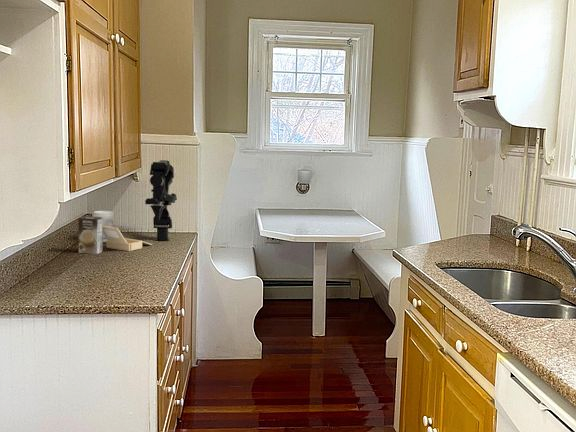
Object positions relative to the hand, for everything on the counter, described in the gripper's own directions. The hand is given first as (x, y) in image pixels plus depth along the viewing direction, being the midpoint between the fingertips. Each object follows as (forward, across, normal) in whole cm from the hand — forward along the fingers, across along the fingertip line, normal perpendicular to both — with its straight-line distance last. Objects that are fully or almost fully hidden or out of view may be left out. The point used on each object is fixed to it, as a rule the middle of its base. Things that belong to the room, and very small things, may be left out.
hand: (158, 219), depth 291 cm
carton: (+13, -5, +12) cm, 18 cm away
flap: (+7, -17, +15) cm, 24 cm away
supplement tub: (+11, +5, +31) cm, 33 cm away
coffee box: (+16, -22, +23) cm, 36 cm away
